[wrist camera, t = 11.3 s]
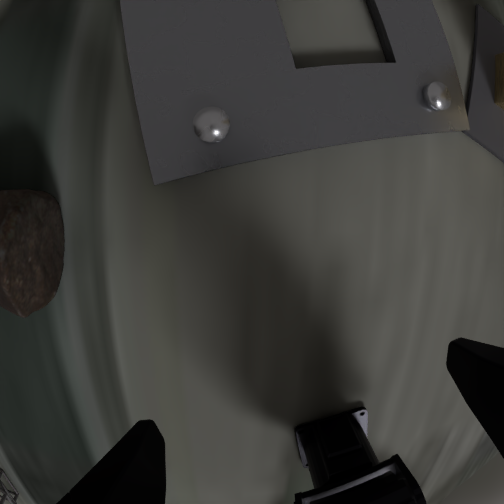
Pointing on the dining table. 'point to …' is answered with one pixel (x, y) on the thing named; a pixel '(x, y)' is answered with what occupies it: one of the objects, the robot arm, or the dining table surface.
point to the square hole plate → (277, 83)
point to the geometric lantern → (7, 491)
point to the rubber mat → (486, 85)
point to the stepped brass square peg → (499, 80)
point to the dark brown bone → (29, 250)
